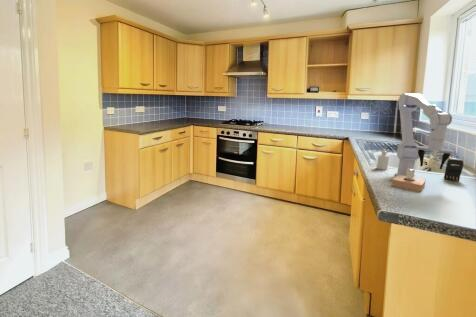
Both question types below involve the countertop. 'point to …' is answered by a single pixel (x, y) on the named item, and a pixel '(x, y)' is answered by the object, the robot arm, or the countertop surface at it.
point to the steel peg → (410, 174)
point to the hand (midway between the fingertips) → (430, 167)
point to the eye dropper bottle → (382, 161)
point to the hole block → (408, 183)
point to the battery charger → (453, 169)
